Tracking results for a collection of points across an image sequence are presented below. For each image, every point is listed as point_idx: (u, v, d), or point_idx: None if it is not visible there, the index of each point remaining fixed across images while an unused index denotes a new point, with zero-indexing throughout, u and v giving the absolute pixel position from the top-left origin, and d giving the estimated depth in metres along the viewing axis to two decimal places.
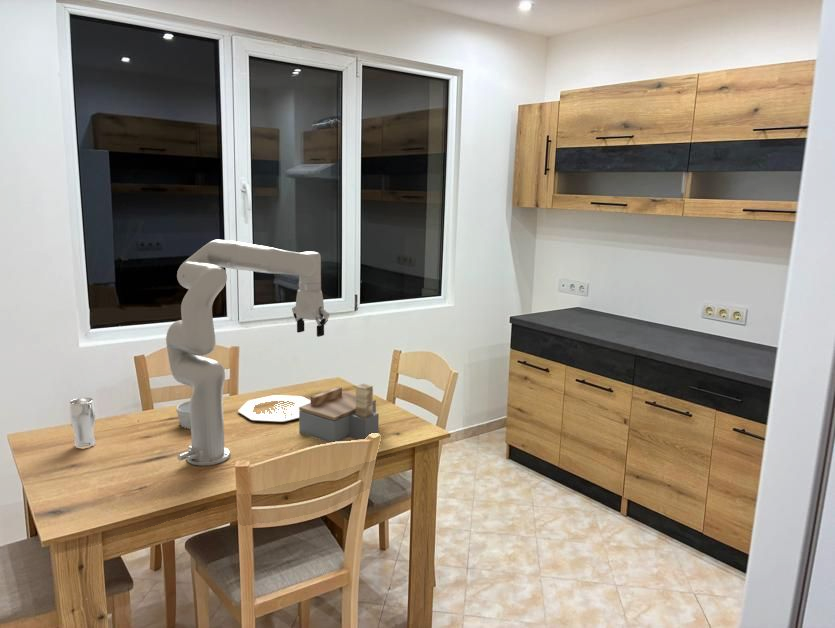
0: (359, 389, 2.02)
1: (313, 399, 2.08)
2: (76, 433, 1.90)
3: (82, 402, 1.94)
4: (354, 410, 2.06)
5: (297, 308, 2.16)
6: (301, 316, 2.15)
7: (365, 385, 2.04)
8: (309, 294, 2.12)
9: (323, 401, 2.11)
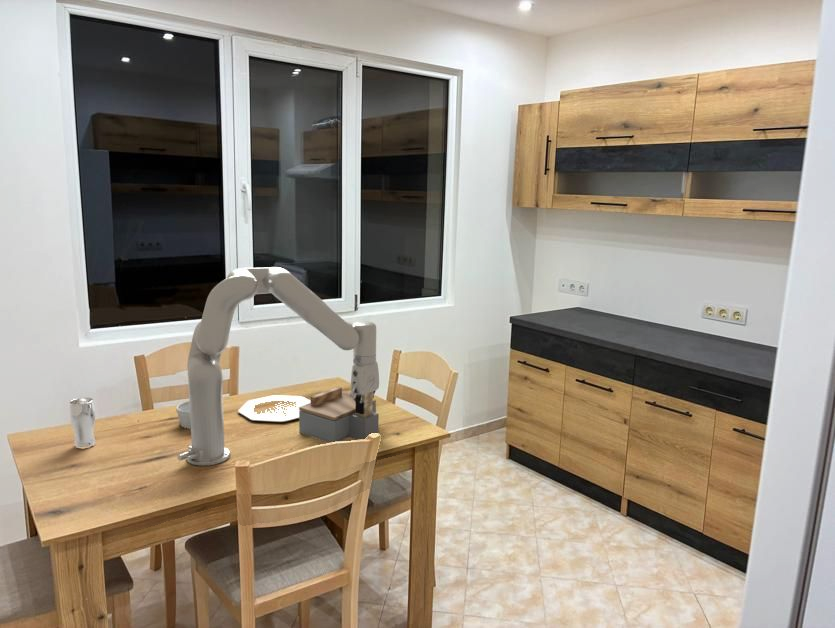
0: None
1: (313, 399, 2.08)
2: (76, 433, 1.90)
3: (82, 402, 1.94)
4: (354, 410, 2.06)
5: (363, 386, 1.98)
6: (367, 391, 2.00)
7: None
8: (374, 365, 2.02)
9: (323, 401, 2.11)
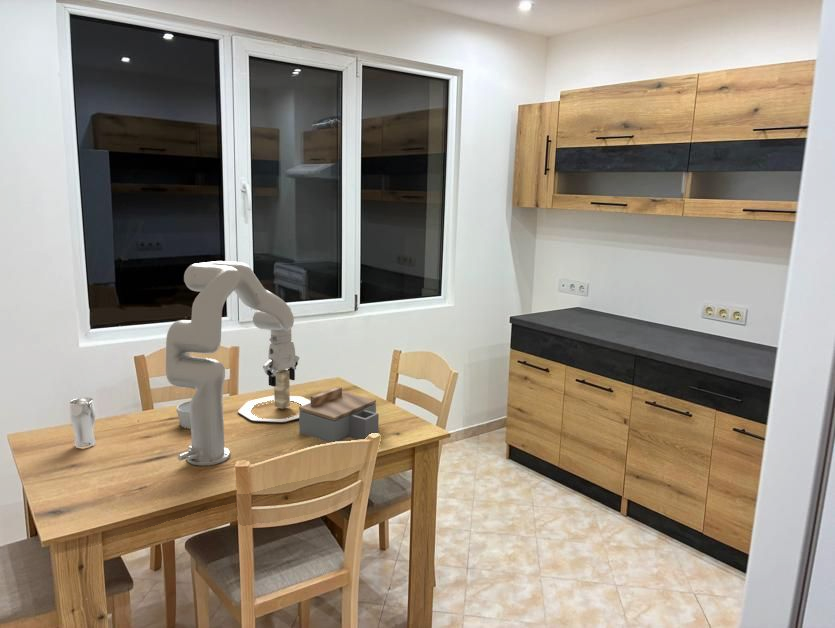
0: (277, 373, 2.27)
1: (313, 399, 2.08)
2: (76, 433, 1.90)
3: (82, 402, 1.94)
4: (354, 410, 2.06)
5: (279, 362, 2.23)
6: (283, 367, 2.25)
7: (282, 370, 2.29)
8: (290, 344, 2.26)
9: (323, 401, 2.11)
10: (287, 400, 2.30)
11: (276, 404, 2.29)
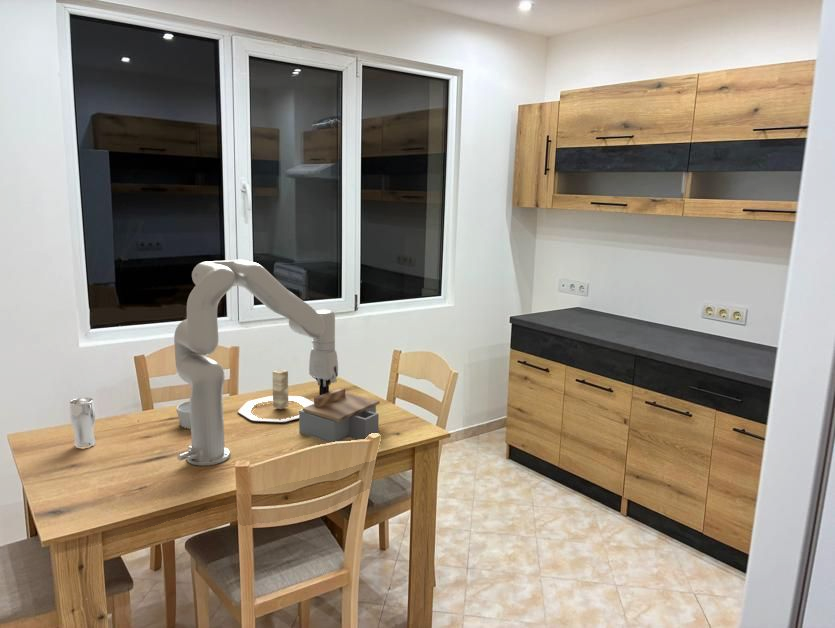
0: (275, 374, 2.26)
1: (316, 400, 2.07)
2: (76, 433, 1.90)
3: (82, 402, 1.94)
4: (358, 411, 2.05)
5: (311, 367, 2.12)
6: (315, 375, 2.11)
7: (281, 370, 2.28)
8: (323, 354, 2.08)
9: (326, 402, 2.10)
10: (286, 400, 2.29)
11: (275, 405, 2.29)
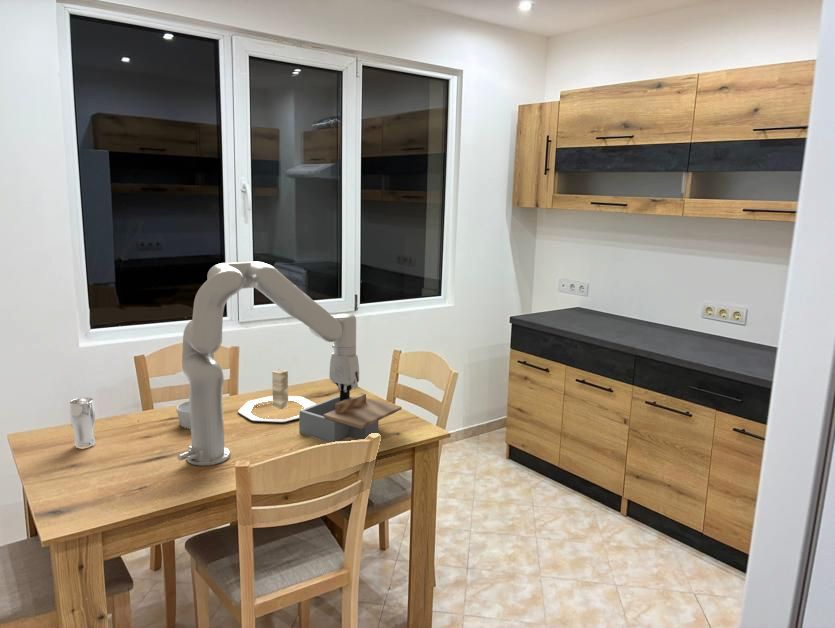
0: (275, 374, 2.26)
1: (338, 406, 2.02)
2: (76, 433, 1.90)
3: (82, 402, 1.94)
4: (380, 417, 2.00)
5: (331, 372, 2.07)
6: (335, 380, 2.06)
7: (281, 370, 2.28)
8: (344, 358, 2.03)
9: (348, 408, 2.05)
10: (285, 400, 2.29)
11: (274, 405, 2.29)
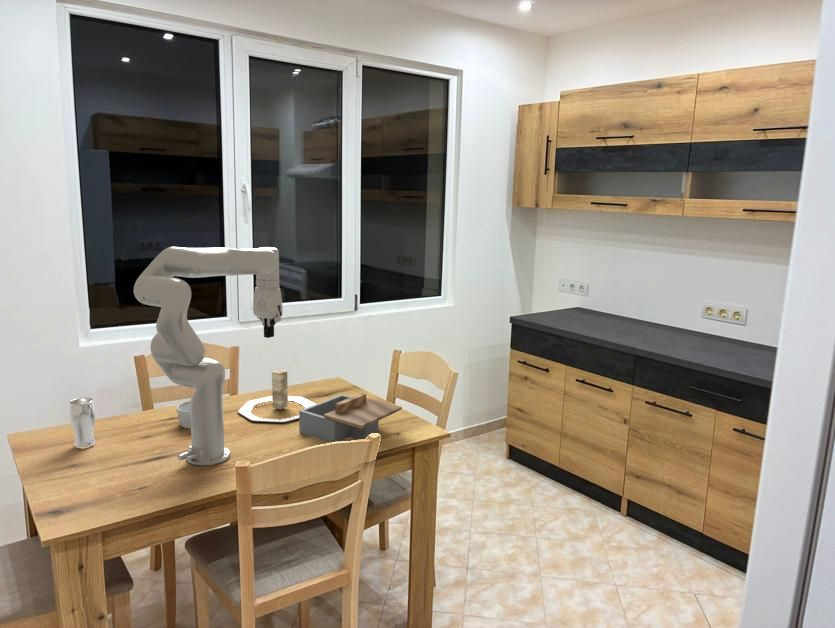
0: (275, 374, 2.26)
1: (338, 406, 2.02)
2: (76, 433, 1.90)
3: (82, 402, 1.94)
4: (380, 418, 2.00)
5: (254, 306, 2.06)
6: (259, 314, 2.05)
7: (280, 370, 2.28)
8: (266, 291, 2.02)
9: (348, 408, 2.05)
10: (285, 401, 2.29)
11: (274, 405, 2.29)
